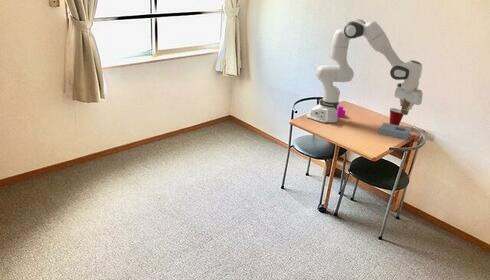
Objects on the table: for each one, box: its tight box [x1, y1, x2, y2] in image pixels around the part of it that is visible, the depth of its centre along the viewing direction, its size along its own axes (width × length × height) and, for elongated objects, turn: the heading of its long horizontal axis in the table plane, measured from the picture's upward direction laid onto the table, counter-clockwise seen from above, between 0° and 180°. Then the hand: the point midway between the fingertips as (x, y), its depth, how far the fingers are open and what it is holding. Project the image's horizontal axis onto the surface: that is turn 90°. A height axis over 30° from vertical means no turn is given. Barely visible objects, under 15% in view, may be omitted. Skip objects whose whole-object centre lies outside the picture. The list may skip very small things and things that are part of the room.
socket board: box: [378, 122, 412, 141], centre depth 260 cm, size 18×14×4 cm
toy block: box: [337, 105, 347, 118], centre depth 293 cm, size 15×6×8 cm, turn 17°
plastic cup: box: [389, 107, 405, 126], centre depth 274 cm, size 11×11×12 cm
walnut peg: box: [400, 99, 411, 116], centre depth 252 cm, size 4×4×10 cm
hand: (405, 107), depth 252 cm, fingers closed on walnut peg, 5 cm apart
